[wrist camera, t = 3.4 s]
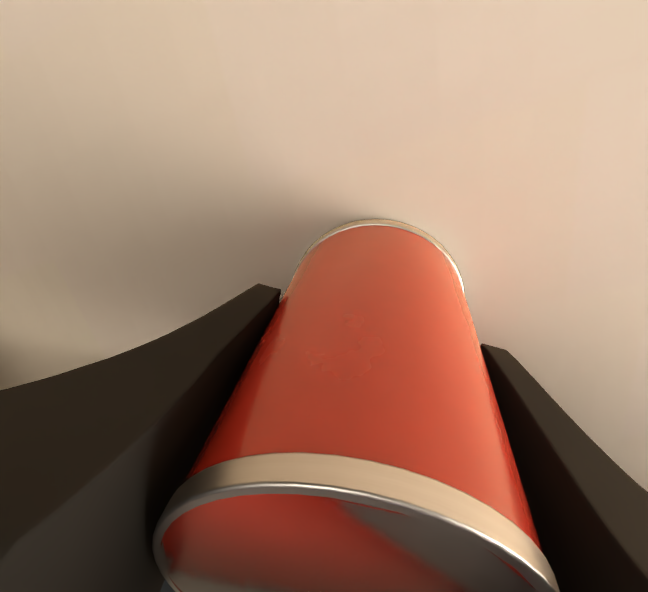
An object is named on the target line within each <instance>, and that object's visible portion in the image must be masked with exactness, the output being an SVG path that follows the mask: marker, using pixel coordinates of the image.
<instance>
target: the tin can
mask: <svg viewBox="0 0 648 592" xmlns="http://www.w3.org/2000/svg"><path fill="white" fill-rule="evenodd" d="M152 550H153V554H154V558H155V562H156V564H157V566H158V568H159V570H160V572H161V574H162V575H163V577H164V578H165V580H166V581H167V582H168V584H169V585H170V586H171V587H172V588H173V589H174V591H175V592H560V591H559V587H558V584H557V581H556V578H555V575H554V573H553V571H552V569H551V567H550V565H549V563H548V561H547V559H546V557H545V556H544V554H543V551H542V548H541V545H540V541H539V538H538V535H537V532H536V528H535V525H534V522H533V518H532V515H531V512H530V509H529V505H528V502H527V499H526V495H525V492H524V489H523V486H522V482H521V479H520V476H519V472H518V469H517V466H516V463H515V459H514V456H513V453H512V449H511V446H510V443H509V440H508V436H507V433H506V430H505V426H504V423H503V420H502V417H501V413H500V410H499V407H498V403H497V400H496V397H495V394H494V390H493V387H492V384H491V380H490V377H489V374H488V371H487V367H486V364H485V361H484V357H483V354H482V351H481V348H480V344H479V341H478V338H477V334H476V331H475V328H474V325H473V321H472V318H471V315H470V311H469V308H468V305H467V302H466V298H465V295H464V287H463V283H462V279H461V276H460V273H459V270H458V268H457V266H456V264H455V262H454V260H453V259H452V257H451V256H450V254H449V253H448V252H447V251H446V249H445V248H444V247H443V246H442V245H441V244H440V243H439V242H437V241H436V240H435V239H434V238H433V237H431V236H430V235H428V234H427V233H425V232H423V231H421V230H419V229H417V228H415V227H413V226H410V225H407V224H404V223H401V222H396V221H391V220H380V219H371V220H361V221H356V222H351V223H348V224H345V225H342V226H339V227H337V228H335V229H333V230H331V231H329V232H328V233H326V234H325V235H323V236H322V237H320V238H319V239H318V240H317V241H316V242H315V243H314V244H312V246H311V247H310V248H309V249H308V250H307V252H306V253H305V254H304V256H303V258H302V259H301V261H300V263H299V265H298V267H297V269H296V272H295V274H294V277H293V279H292V281H291V283H290V285H289V287H288V289H287V290H286V292H285V294H284V296H283V298H282V300H281V302H280V304H279V305H278V307H277V309H276V311H275V313H274V315H273V317H272V318H271V320H270V322H269V324H268V326H267V328H266V330H265V331H264V333H263V335H262V337H261V339H260V341H259V343H258V344H257V346H256V348H255V350H254V352H253V354H252V356H251V358H250V359H249V361H248V363H247V365H246V367H245V369H244V371H243V372H242V374H241V376H240V378H239V380H238V382H237V384H236V385H235V387H234V389H233V391H232V393H231V395H230V397H229V398H228V400H227V402H226V404H225V406H224V408H223V410H222V411H221V413H220V415H219V417H218V419H217V421H216V423H215V425H214V426H213V428H212V430H211V432H210V434H209V436H208V438H207V439H206V441H205V443H204V445H203V447H202V449H201V451H200V452H199V454H198V456H197V458H196V460H195V462H194V464H193V465H192V467H191V469H190V471H189V473H188V475H187V477H186V479H185V480H184V482H183V484H182V485H181V486H180V487H179V488H178V489H177V490H176V491H175V493H174V494H173V496H172V497H171V499H170V500H169V502H168V504H167V506H166V508H165V509H164V511H163V513H162V515H161V517H160V519H159V520H158V522H157V524H156V527H155V531H154V534H153V544H152Z"/></svg>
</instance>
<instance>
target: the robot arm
mask: <svg viewBox="0 0 648 592" xmlns="http://www.w3.org/2000/svg"><path fill="white" fill-rule="evenodd" d="M280 293H281V289H277V288H273V287H269V286H266V285H262V284H257V285H255V286H253V287H252V288H250V289H248V290H247V291H245V292H243V293H242V294H240V295H238V296H237V297H235V298H233V299H232V300H230V301H228V302H227V303H225V304H223V305H222V306H220V307H218V308H216V309H214V310H213V311H211V312H209V313H207V314H206V315H204V316H202V317H200V318H198V319H197V320H195V321H193V322H191V323H189V324H187V325H185V326H183V327H181V328H179V329H177V330H175V331H173V332H171V333H169V334H167V335H165V336H162V337H160V338H158V339H156V340H153V341H151V342H149V343H146V344H144V345H141V346H139V347H136V348H134V349H131V350H129V351H126V352H124V353H121V354H119V355H116V356H113V357H110V358H108V359H105V360H101V361H98V362H95V363H92V364H89V365H86V366H83V367H80V368H77V369H74V370H71V371H68V372H65V373H62V374H59V375H55V376H52V377H49V378H45V379H41V380H38V381H34V382H31V383H27V384H23V385H20V386H16V387H12V388H8V389H4V390H0V592H160V590H161V588H162V585H163V583H164V580H165V578H164V577H163V575H162V574H161V572H160V570H159V568H158V566H157V564H156V562H155V558H154V554H153V550H152V544H153V534H154V531H155V527H156V524H157V522H158V520H159V519H160V517H161V515H162V513H163V511H164V509H165V508H166V506H167V504H168V502H169V500H170V499H171V497H172V496H173V494H174V493H175V491H176V490H177V489H178V488H179V487H180V486H181V485H182V484H183V482H184V480H185V479H186V477H187V475H188V473H189V471H190V469H191V467H192V465H193V464H194V462H195V460H196V458H197V456H198V454H199V452H200V451H201V449H202V447H203V445H204V443H205V441H206V439H207V438H208V436H209V434H210V432H211V430H212V428H213V426H214V425H215V423H216V421H217V419H218V417H219V415H220V413H221V411H222V410H223V408H224V406H225V404H226V402H227V400H228V398H229V397H230V395H231V393H232V391H233V389H234V387H235V385H236V384H237V382H238V380H239V378H240V376H241V374H242V372H243V371H244V369H245V367H246V365H247V363H248V361H249V359H250V358H251V356H252V354H253V352H254V350H255V348H256V346H257V344H258V343H259V341H260V339H261V337H262V335H263V333H264V331H265V330H266V328H267V326H268V324H269V322H270V320H271V318H272V317H273V315H274V313H275V311H276V309H277V307H278V305H279V299H280ZM480 348H481V351H482V354H483V357H484V361H485V364H486V367H487V371H488V374H489V377H490V380H491V384H492V387H493V390H494V394H495V397H496V400H497V403H498V407H499V410H500V413H501V417H502V420H503V423H504V426H505V430H506V433H507V436H508V440H509V443H510V446H511V449H512V453H513V456H514V459H515V463H516V466H517V469H518V472H519V476H520V479H521V482H522V486H523V489H524V492H525V495H526V499H527V502H528V505H529V509H530V512H531V515H532V518H533V522H534V525H535V528H536V532H537V535H538V538H539V541H540V545H541V548H542V551H543V554H544V556H545V557H546V559H547V561H548V563H549V565H550V567H551V569H552V571H553V573H554V575H555V578H556V581H557V584H558V587H559V591H560V592H648V493H647V492H646V491H645V490H644V489H643V488H642V487H641V486H639V485H638V484H637V483H636V482H635V481H634V480H633V479H632V478H631V477H630V476H629V475H627V474H626V473H625V472H624V471H623V470H622V469H621V468H620V467H619V466H618V465H617V464H616V463H615V462H614V461H613V460H612V459H611V458H610V457H609V456H608V455H607V454H606V453H605V452H604V451H603V450H602V449H601V448H600V447H598V446H597V445H596V444H595V443H594V442H593V441H592V440H591V439H590V438H589V437H588V436H587V435H586V434H585V432H584V431H583V430H582V429H581V428H580V427H579V426H578V425H577V424H576V423H575V422H574V421H573V420H572V419H571V418H570V417H569V416H568V415H567V414H566V413H565V412H564V411H563V409H562V408H561V407H560V406H559V405H558V404H557V403H556V402H555V401H554V400H553V399H552V398H551V397H550V395H549V394H548V393H547V392H546V391H545V390H544V389H543V388H542V387H541V386H540V385H539V383H538V382H537V381H536V380H535V379H534V378H533V377H532V376H531V375H530V374H529V373H528V372H527V370H526V369H525V368H524V367H523V366H522V365H521V364H520V363H519V362H518V361H517V360H516V359H515V358H514V357H513V356H512V355H511V354H510V353H509V352H508V351H507V350H504V349H500V348H497V347H493V346H489V345H486V344H481V346H480Z"/></svg>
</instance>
